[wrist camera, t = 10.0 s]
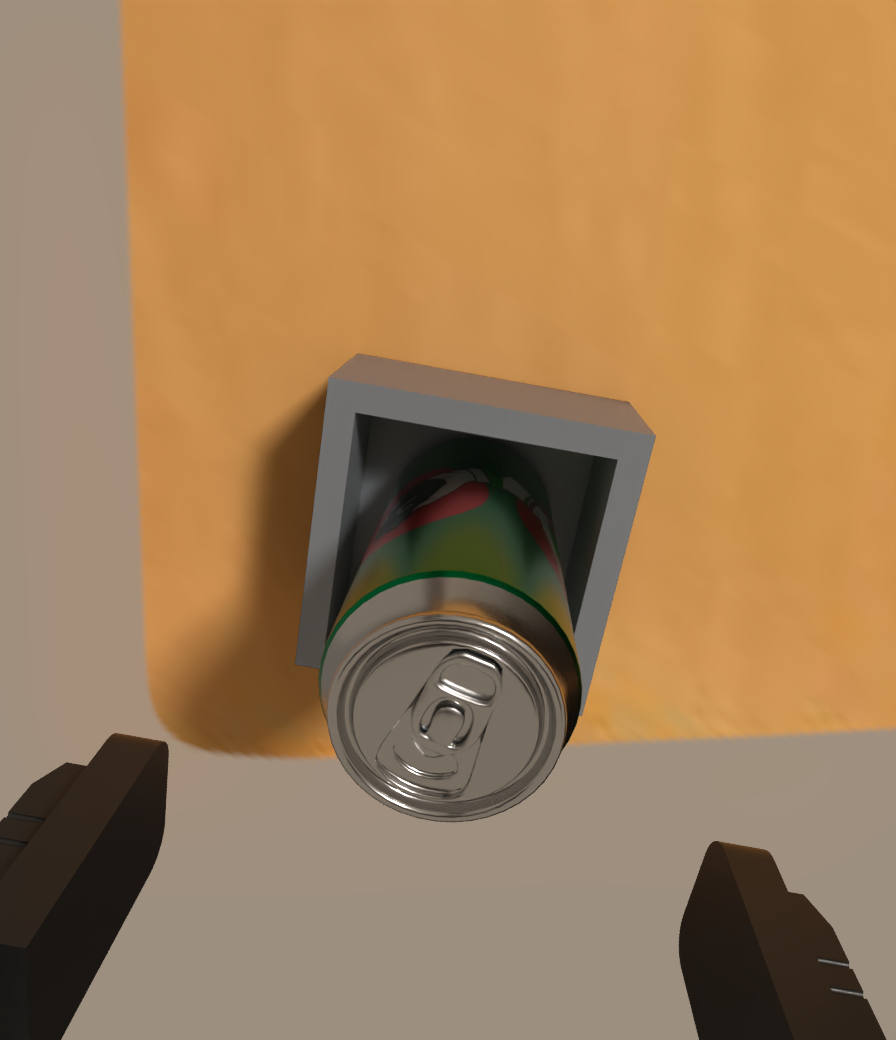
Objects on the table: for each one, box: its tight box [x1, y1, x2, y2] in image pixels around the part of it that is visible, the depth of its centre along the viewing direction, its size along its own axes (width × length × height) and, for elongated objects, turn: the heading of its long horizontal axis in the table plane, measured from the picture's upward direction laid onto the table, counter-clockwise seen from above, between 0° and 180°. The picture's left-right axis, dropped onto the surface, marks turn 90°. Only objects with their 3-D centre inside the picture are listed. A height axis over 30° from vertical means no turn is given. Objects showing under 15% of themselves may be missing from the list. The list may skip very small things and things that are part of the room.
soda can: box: [319, 439, 582, 822], centre depth 20 cm, size 5×5×12 cm
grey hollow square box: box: [295, 354, 656, 716], centre depth 24 cm, size 9×9×4 cm
